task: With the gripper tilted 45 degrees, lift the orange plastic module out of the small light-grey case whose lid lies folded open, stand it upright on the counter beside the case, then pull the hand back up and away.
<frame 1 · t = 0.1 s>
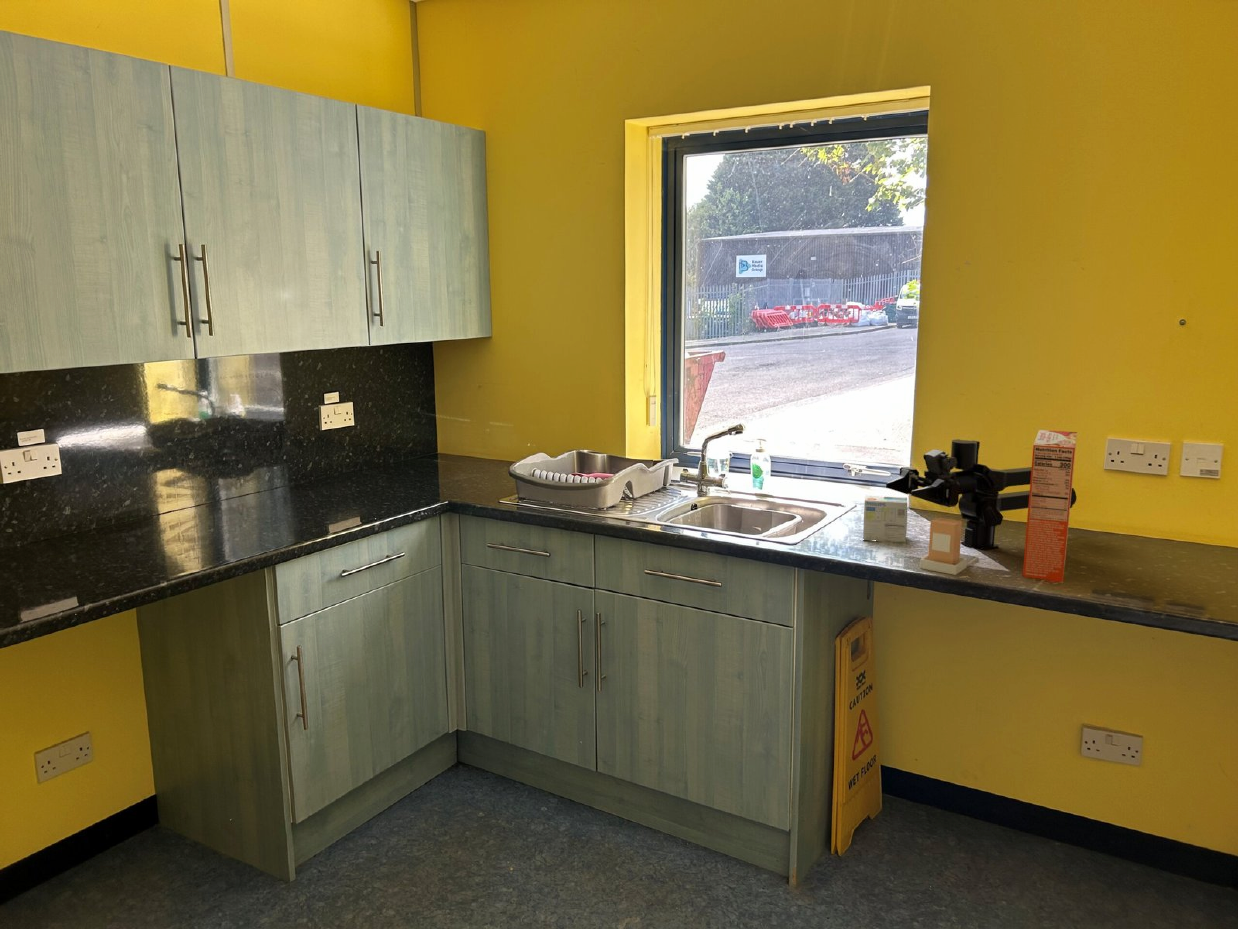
hand: (898, 489, 218), 17 cm above the worktop, tool horizontal, fingers open, 9 cm apart
module: (943, 567, 212), resting on case
case lid: (956, 561, 218), on the worktop
case: (943, 569, 212), on the worktop
light bulb box: (884, 540, 237), on the worktop
orange cereal box: (1044, 567, 214), on the worktop
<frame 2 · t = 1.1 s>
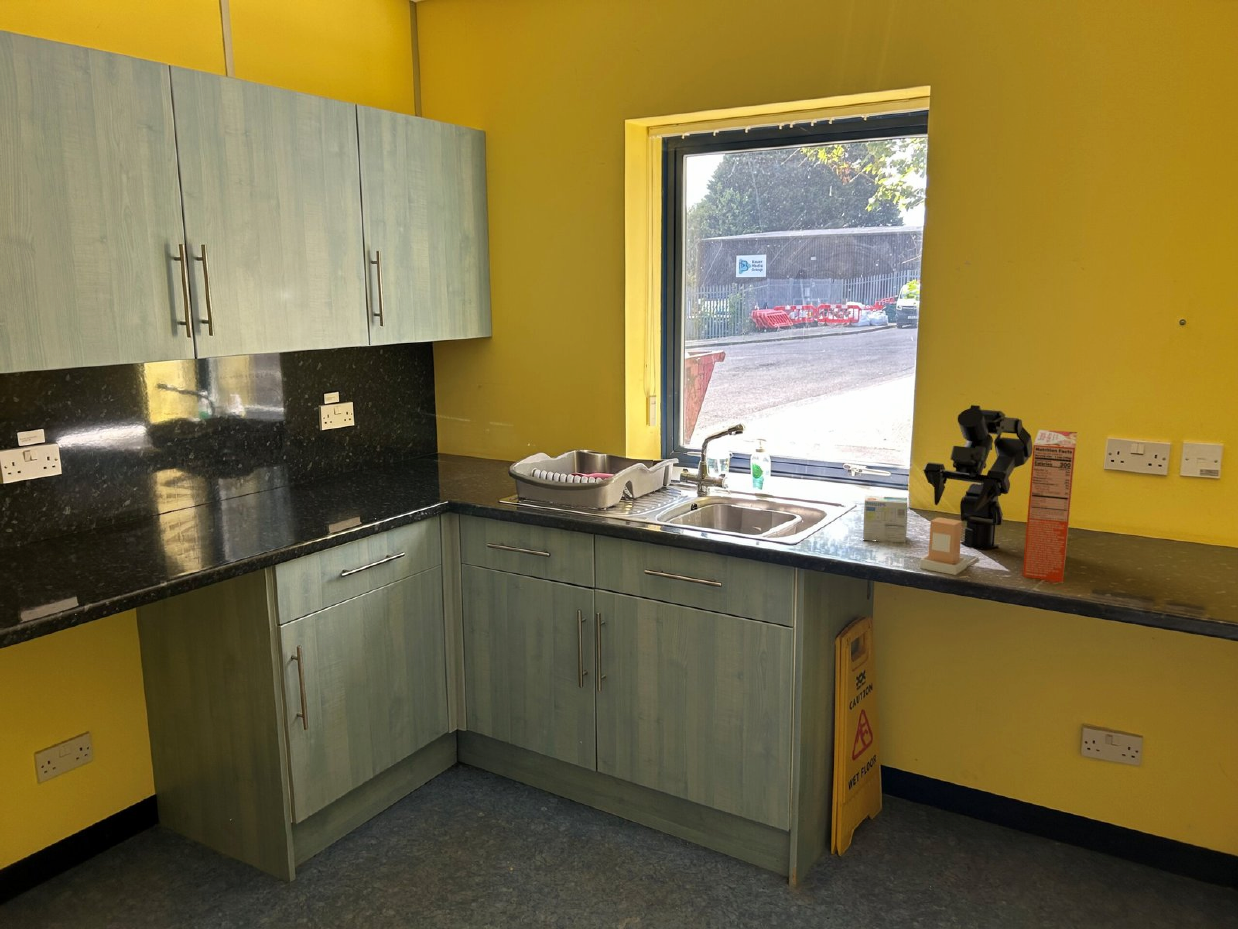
hand: (955, 507, 214), 14 cm above the worktop, tool tilted 45°, fingers open, 9 cm apart
nothing on the worktop moved.
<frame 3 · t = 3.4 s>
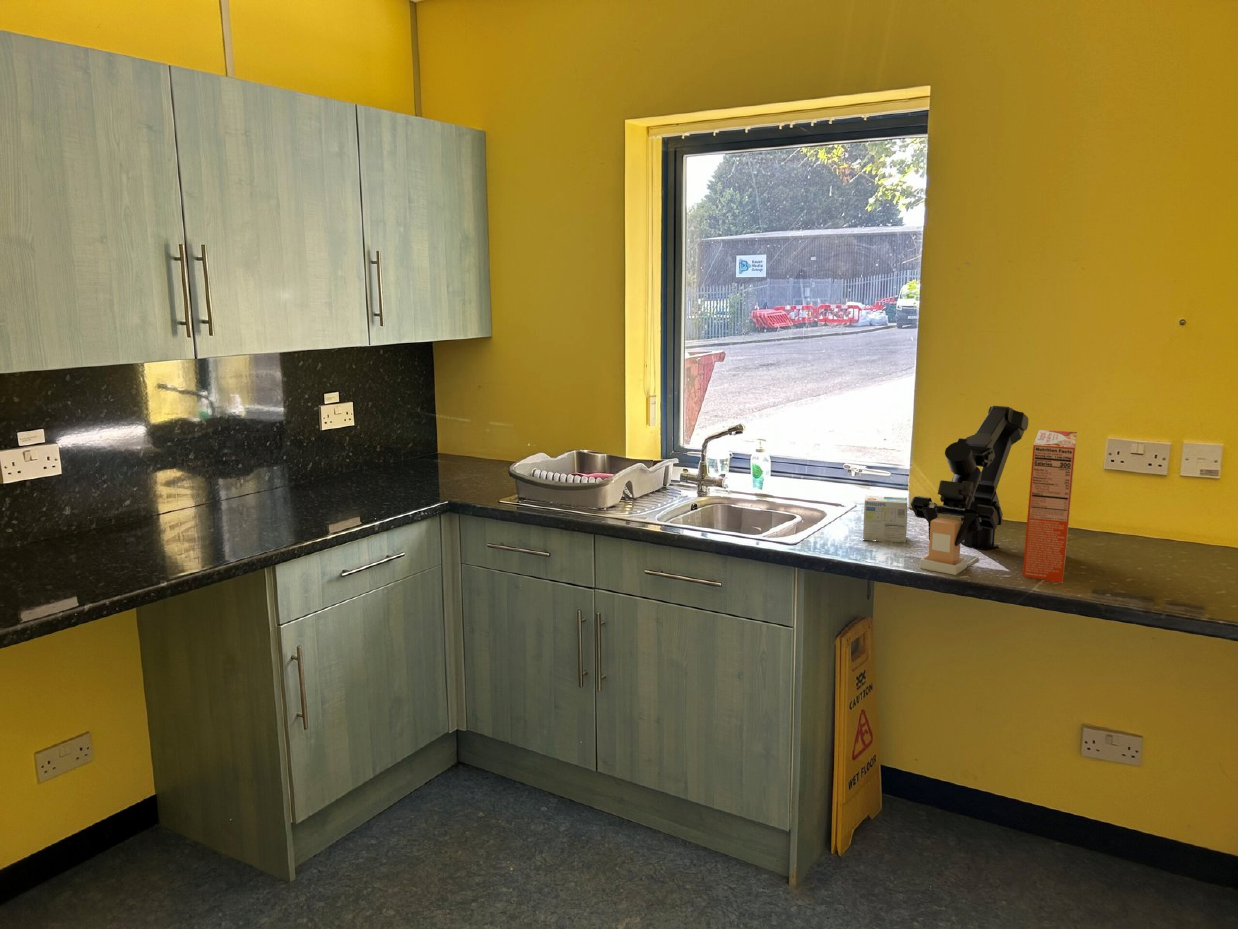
hand: (942, 542, 210), 7 cm above the worktop, tool tilted 45°, fingers closed on module, 5 cm apart
module: (943, 567, 212), resting on case, touching gripper
everything else where it was.
when the fingers open (8 cm above the worktop, at t = 7.5 s): module drops 1 cm, on the worktop.
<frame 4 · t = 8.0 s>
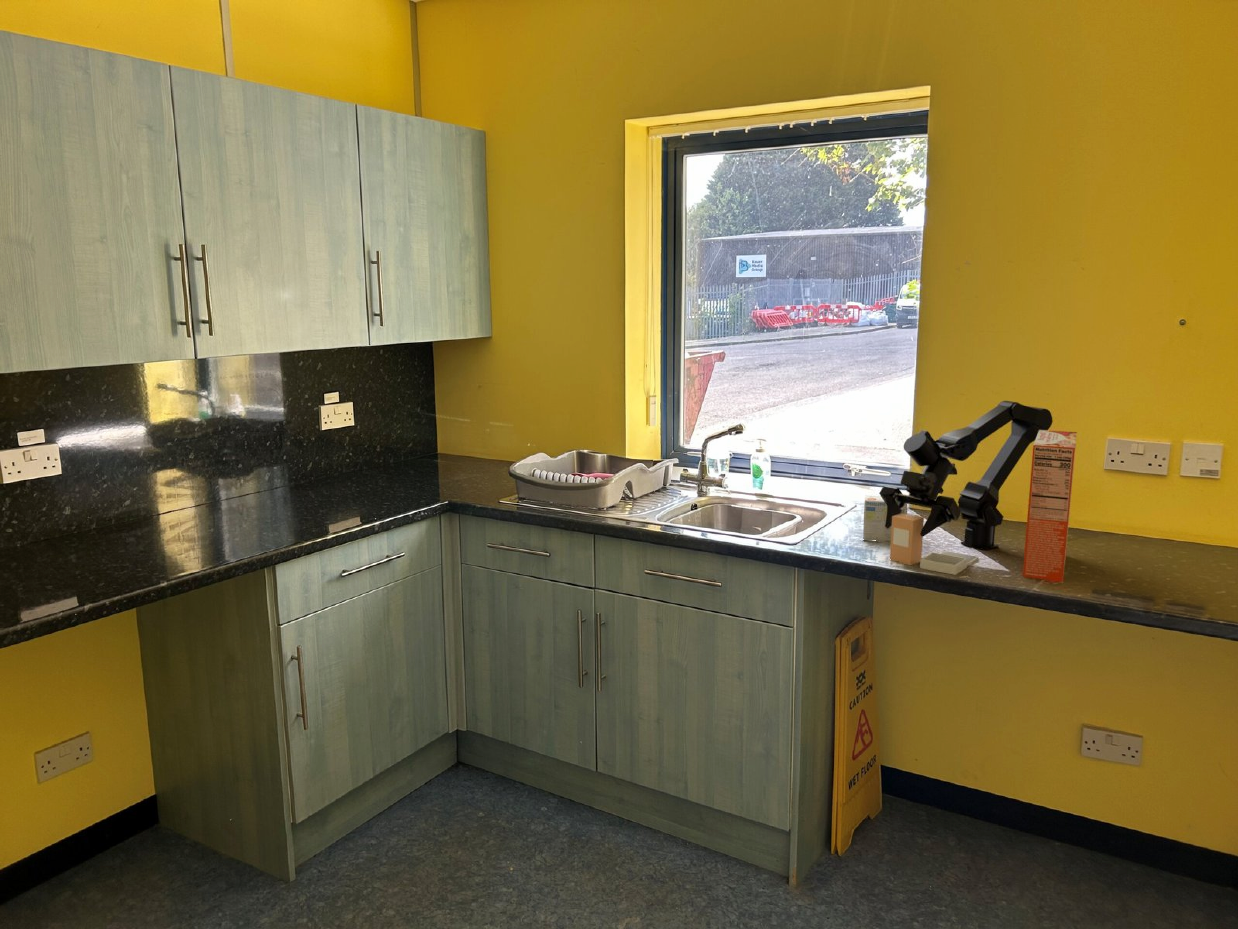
hand: (903, 531, 215), 8 cm above the worktop, tool tilted 45°, fingers open, 9 cm apart
module: (905, 562, 217), on the worktop
everything else where it was.
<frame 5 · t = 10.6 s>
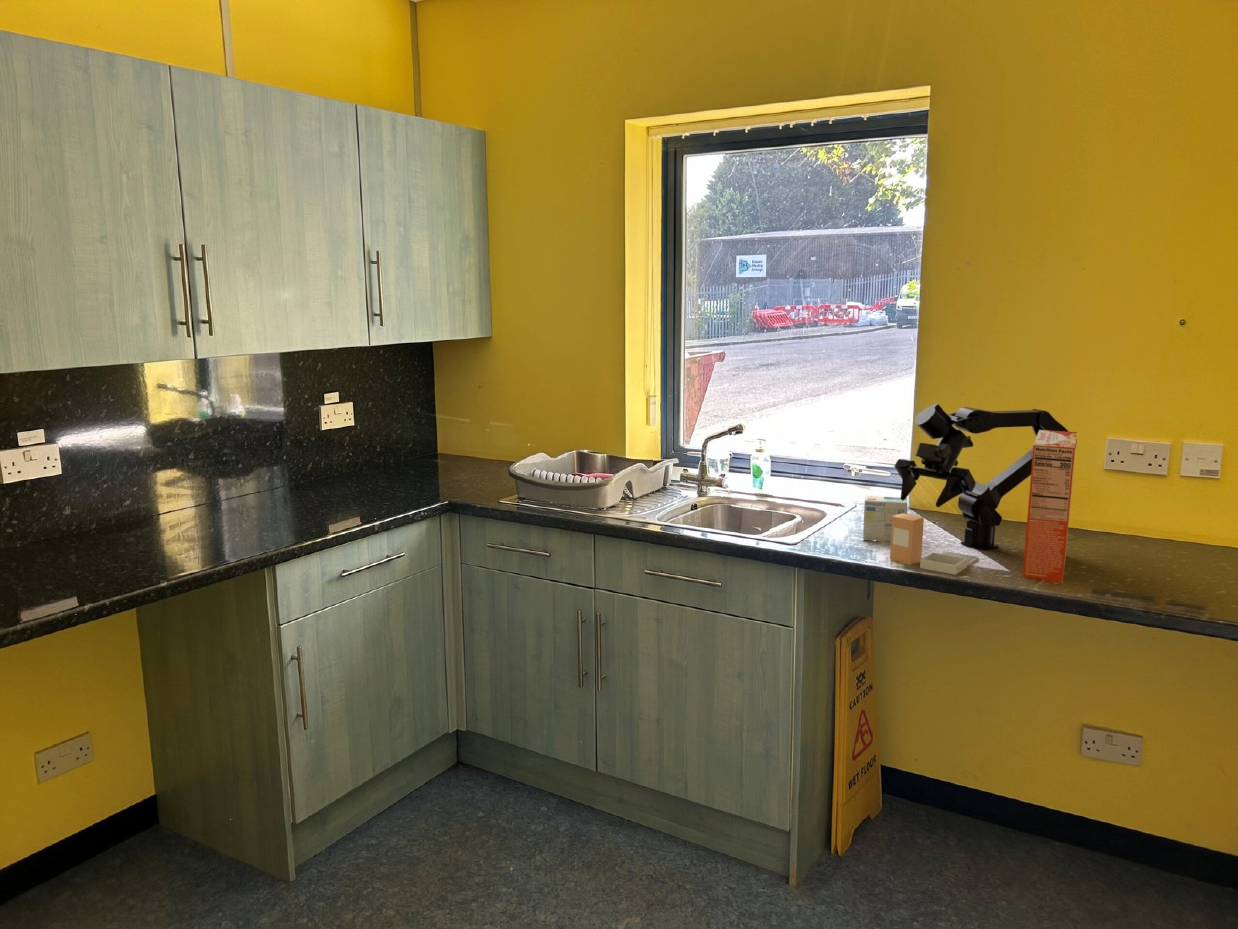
hand: (919, 502, 218), 14 cm above the worktop, tool tilted 45°, fingers open, 9 cm apart
nothing on the worktop moved.
at the end: module inside the target area (0.1 cm from its centre), on the worktop; module tilted 0°; module touching worktop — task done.
